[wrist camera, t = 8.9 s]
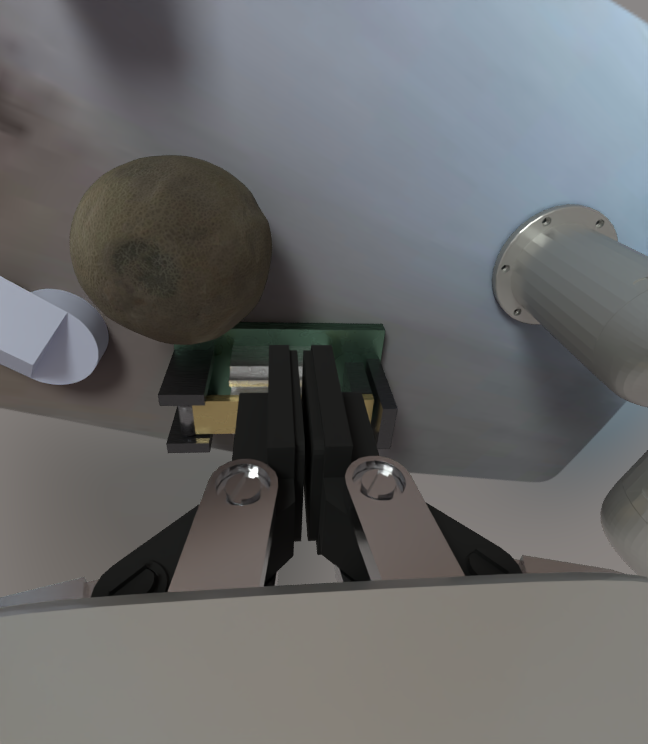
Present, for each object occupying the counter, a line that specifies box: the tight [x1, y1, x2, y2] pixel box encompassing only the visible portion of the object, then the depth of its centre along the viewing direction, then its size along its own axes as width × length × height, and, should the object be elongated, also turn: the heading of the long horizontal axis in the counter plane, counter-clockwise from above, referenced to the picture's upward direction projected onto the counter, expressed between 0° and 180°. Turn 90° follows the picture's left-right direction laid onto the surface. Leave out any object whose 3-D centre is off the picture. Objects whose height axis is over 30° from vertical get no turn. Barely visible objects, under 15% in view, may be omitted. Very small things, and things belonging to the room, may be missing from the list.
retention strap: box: [178, 394, 374, 436], centre depth 45 cm, size 19×4×2 cm, turn 87°
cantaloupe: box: [70, 155, 272, 345], centre depth 35 cm, size 14×14×15 cm
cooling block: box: [158, 322, 397, 453], centre depth 47 cm, size 22×12×10 cm, turn 87°
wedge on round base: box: [0, 276, 109, 385], centre depth 43 cm, size 9×7×13 cm
